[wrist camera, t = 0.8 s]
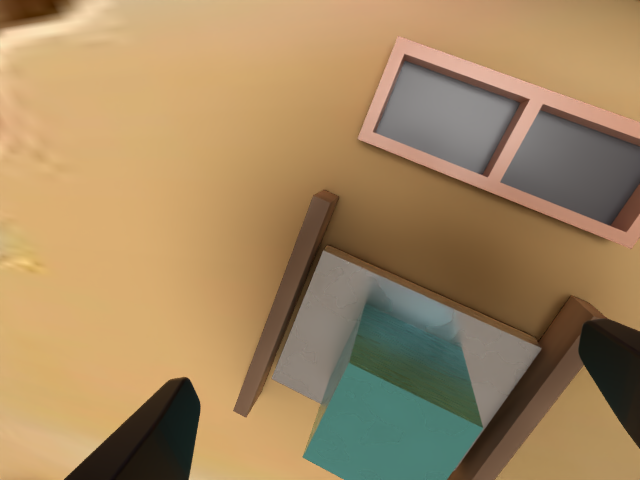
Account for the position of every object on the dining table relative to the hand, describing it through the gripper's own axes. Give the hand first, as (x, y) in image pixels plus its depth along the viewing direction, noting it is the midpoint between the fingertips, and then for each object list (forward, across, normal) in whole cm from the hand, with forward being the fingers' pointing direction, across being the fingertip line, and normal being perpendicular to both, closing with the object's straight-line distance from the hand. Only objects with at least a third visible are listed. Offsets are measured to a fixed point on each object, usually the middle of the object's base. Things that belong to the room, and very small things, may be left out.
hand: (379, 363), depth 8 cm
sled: (+11, -2, +11) cm, 16 cm away
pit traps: (+12, -9, -1) cm, 15 cm away
